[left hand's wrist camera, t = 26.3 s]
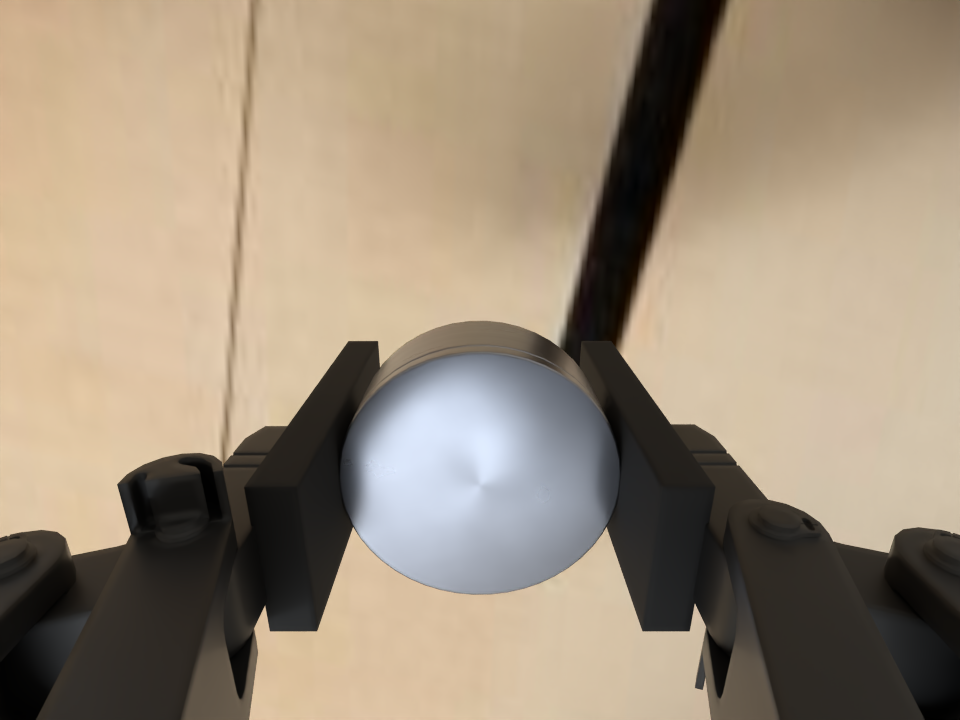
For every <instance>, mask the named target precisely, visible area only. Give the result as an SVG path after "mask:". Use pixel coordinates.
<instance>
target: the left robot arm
mask: <svg viewBox="0 0 960 720" xmlns="http://www.w3.org/2000/svg"><path fill="white" fill-rule="evenodd" d="M379 369H380V363H379V348H378V341H348V343H347V344H346V346H345V347H344V348H343V350H342V351H341V353H340V354H339V355H338V357H337V358H336V360H335V361H334V362H333V364H332V365H331V366H330V368H329V369H328V371H327V372H326V373H325V375H324V376H323V378H322V379H321V380H320V382H319V383H318V385H317V386H316V387H315V389H314V390H313V392H312V393H311V394H310V396H309V397H308V399H307V400H306V401H305V403H304V404H303V405H302V407H301V408H300V410H299V411H298V412H297V414H296V415H295V417H294V418H293V419H292V421H291V422H290V424H289V425H288V426H265V427H264V428H262V429H260V430H259V431H257V432H255V433H254V434H252V435H250V436H249V437H247V438H245V439H244V441H243V442H242V443H241V444H240V445H239V447H238V448H237V449H236V450H235V451H234V453H233V456H230V457H229V459H228V460H227V461H226V462H225V463H224V466H222V462H221V461H220V460H218V459H217V458H216V457H214V456H211V455H207V454H202V453H190V454H179V455H174V456H169V457H164V458H161V459H158V460H155V461H153V462H150V463H147V464H144V465H142V466H141V467H139V468H137V469H135V470H134V471H132V472H130V473H129V474H127V475H126V476H125V477H124V478H123V479H122V480H121V481H120V482H119V483H118V484H117V485H118V489H119V493H120V496H121V500H122V503H123V507H124V511H125V514H126V518H127V521H128V525H129V529H130V532H131V536H130V538H129V539H128V541H127V543H126V544H125V545H121V546H117V547H113V548H108V549H103V550H98V551H93V552H88V553H83V554H78V555H73V556H71V553H70V550H69V547H68V544H67V541H66V538H64V537H63V536H62V535H60V534H59V533H58V532H53V531H45V530H38V531H30V532H21V533H16V534H12V535H10V536H8V537H7V536H5V537H2V538H0V720H249V716H250V708H251V701H252V693H253V686H254V678H255V671H256V663H257V656H258V649H257V641H256V636H255V631H254V627H255V625H256V623H257V621H258V619H259V617H260V615H261V613H262V610H263V608H264V606H266V612H267V617H268V623H269V628H270V631H317V630H318V627H319V624H320V621H321V618H322V615H323V612H324V610H325V607H326V604H327V601H328V598H329V595H330V592H331V589H332V586H333V583H334V581H335V578H336V575H337V572H338V569H339V566H340V563H341V560H342V557H343V554H344V551H345V549H346V546H347V543H348V540H349V537H350V534H351V531H352V528H353V526H352V524H351V522H350V519H349V517H348V515H347V513H346V511H345V508H344V504H343V501H342V497H341V490H340V481H339V459H340V453H341V447H342V444H343V441H344V438H345V435H346V432H347V430H348V428H349V425H350V423H351V422H352V419H353V417H354V415H355V413H356V411H357V409H358V407H359V405H360V403H361V401H362V399H363V397H364V395H365V393H366V391H367V389H368V387H369V385H370V383H371V381H372V379H373V377H374V376H375V374H376V373H377V371H378V370H379ZM580 369H581V370H582V372H583V373H584V375H585V376H586V378H587V380H588V382H589V383H590V385H591V387H592V389H593V391H594V393H595V395H596V397H597V399H598V401H599V403H600V405H601V407H602V409H603V411H604V413H605V416H606V418H607V420H608V422H609V424H610V426H611V428H612V431H613V433H614V436H615V438H616V441H617V445H618V449H619V454H620V461H621V477H620V486H619V495H618V500H617V504H616V507H615V509H614V512H613V514H612V517H611V519H610V521H609V523H608V525H607V529H608V532H609V535H610V538H611V541H612V544H613V547H614V550H615V552H616V555H617V558H618V561H619V564H620V567H621V570H622V573H623V576H624V579H625V582H626V584H627V587H628V590H629V593H630V596H631V599H632V602H633V605H634V608H635V611H636V613H637V616H638V619H639V622H640V625H641V628H642V631H690V626H691V621H692V615H693V610H694V604H696V606H697V608H698V610H699V613H700V615H701V617H702V619H703V621H704V623H705V625H706V631H705V636H704V641H703V646H702V651H701V656H700V662H699V667H698V672H697V677H696V685H695V688H697V689H702V690H703V686H704V681H705V677H706V684H707V692H708V699H709V707H710V714H711V720H960V535H958V534H955V533H953V534H951V533H950V532H947V531H943V530H935V529H927V528H919V527H918V528H910V529H903V530H902V531H900V532H899V533H898V534H897V535H895V537H894V540H893V543H892V546H891V549H890V552H889V553H885V552H880V551H875V550H870V549H865V548H860V547H855V546H850V545H845V544H841V543H837V542H833V540H832V538H831V537H830V535H829V533H828V532H827V531H826V529H825V528H824V527H823V526H822V525H821V523H820V522H819V521H817V520H816V519H814V518H813V517H811V516H810V515H808V514H807V513H805V512H804V511H801V510H799V509H797V508H794V507H792V506H790V505H787V504H784V503H780V502H775V501H771V500H768V499H767V498H766V497H765V496H764V495H763V493H762V492H761V491H760V490H759V489H758V487H757V486H756V485H755V484H754V483H753V481H752V480H751V479H750V478H749V477H748V476H747V474H746V473H745V472H744V471H743V470H742V468H741V467H740V466H737V464H736V461H735V460H734V459H733V458H732V457H731V455H730V454H727V452H726V450H725V448H724V447H723V446H722V445H721V444H720V442H719V441H718V440H717V439H716V438H715V437H714V436H713V435H711V434H709V433H708V432H706V431H704V430H703V429H701V428H699V427H698V426H696V425H671V424H670V423H669V421H668V420H667V419H666V417H665V416H664V414H663V413H662V412H661V410H660V409H659V407H658V406H657V405H656V403H655V402H654V400H653V399H652V398H651V396H650V395H649V393H648V392H647V391H646V389H645V388H644V386H643V385H642V384H641V382H640V381H639V380H638V378H637V377H636V375H635V374H634V373H633V371H632V370H631V368H630V367H629V366H628V364H627V363H626V361H625V360H624V359H623V357H622V356H621V354H620V353H619V352H618V350H617V349H616V348H615V346H614V345H613V343H612V342H611V341H582V344H581V358H580Z"/></svg>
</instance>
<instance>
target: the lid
mask: <svg viewBox="0 0 960 720" xmlns="http://www.w3.org/2000/svg"><path fill="white" fill-rule="evenodd" d="M620 477H621V461H620V454H619V449H618V445H617V441H616V438H615V436H614V433H613V431H612V428H611V426H610V424H609V422H608V420H607V418H606V416H605V413H604V411H603V409H602V407H601V405H600V403H599V401H598V399H597V397H596V395H595V393H594V391H593V389H592V387H591V385H590V383H589V382H588V380H587V378H586V376H585V375H584V373H583V372H582V370H581V369H580V368H579V367H578V365H577V364H576V363H575V361H574V360H573V359H572V358H571V357H569V356H568V355H567V354H566V353H565V352H564V351H563V350H562V349H561V348H559V347H558V346H557V345H555V344H554V343H552V342H551V341H550V340H548V339H546V338H544V337H542V336H540V335H539V334H537V333H535V332H532V331H529V330H527V329H524V328H522V327H519V326H514V325H510V324H506V323H500V322H491V321H467V322H460V323H453V324H449V325H445V326H442V327H438V328H435V329H433V330H430V331H428V332H426V333H423V334H421V335H419V336H417V337H416V338H414V339H412V340H410V341H409V342H407V343H406V344H404V345H403V346H402V347H401V348H399V349H398V350H397V351H395V352H394V353H393V354H392V355H391V356H390V357H389V358H388V359H387V360H386V361H385V362H384V363H383V365H382V366H381V367H380V369H379V370H378V371H377V373H376V374H375V376H374V377H373V379H372V381H371V383H370V385H369V387H368V389H367V391H366V393H365V395H364V397H363V399H362V401H361V403H360V405H359V407H358V409H357V411H356V413H355V415H354V417H353V419H352V422H351V423H350V425H349V428H348V430H347V432H346V435H345V438H344V441H343V444H342V447H341V453H340V459H339V481H340V490H341V497H342V501H343V504H344V508H345V511H346V513H347V515H348V517H349V519H350V522H351V524H352V526H353V527H354V529H355V530H356V532H357V534H358V535H359V537H360V538H361V539H362V541H363V542H364V543H365V544H366V545H367V547H368V548H369V549H370V550H371V551H372V552H373V553H374V554H375V555H376V556H377V557H378V558H380V559H381V560H382V561H383V562H384V563H386V564H387V565H388V566H390V567H391V568H393V569H394V570H395V571H397V572H399V573H401V574H402V575H404V576H406V577H408V578H409V579H412V580H414V581H416V582H419V583H421V584H424V585H426V586H430V587H433V588H436V589H439V590H444V591H449V592H454V593H462V594H497V593H506V592H511V591H515V590H520V589H524V588H527V587H530V586H533V585H536V584H539V583H541V582H543V581H545V580H548V579H550V578H552V577H554V576H556V575H557V574H559V573H561V572H562V571H564V570H566V569H567V568H569V567H570V566H571V565H573V564H574V563H575V562H576V561H578V560H579V559H580V558H581V557H582V556H583V555H584V554H585V553H586V552H587V551H588V550H589V549H590V548H591V547H592V546H593V545H594V544H595V543H596V541H597V540H598V539H599V537H600V536H601V535H602V533H603V532H604V530H605V528H606V526H607V525H608V523H609V521H610V519H611V517H612V514H613V512H614V509H615V507H616V504H617V500H618V495H619V486H620Z"/></svg>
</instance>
